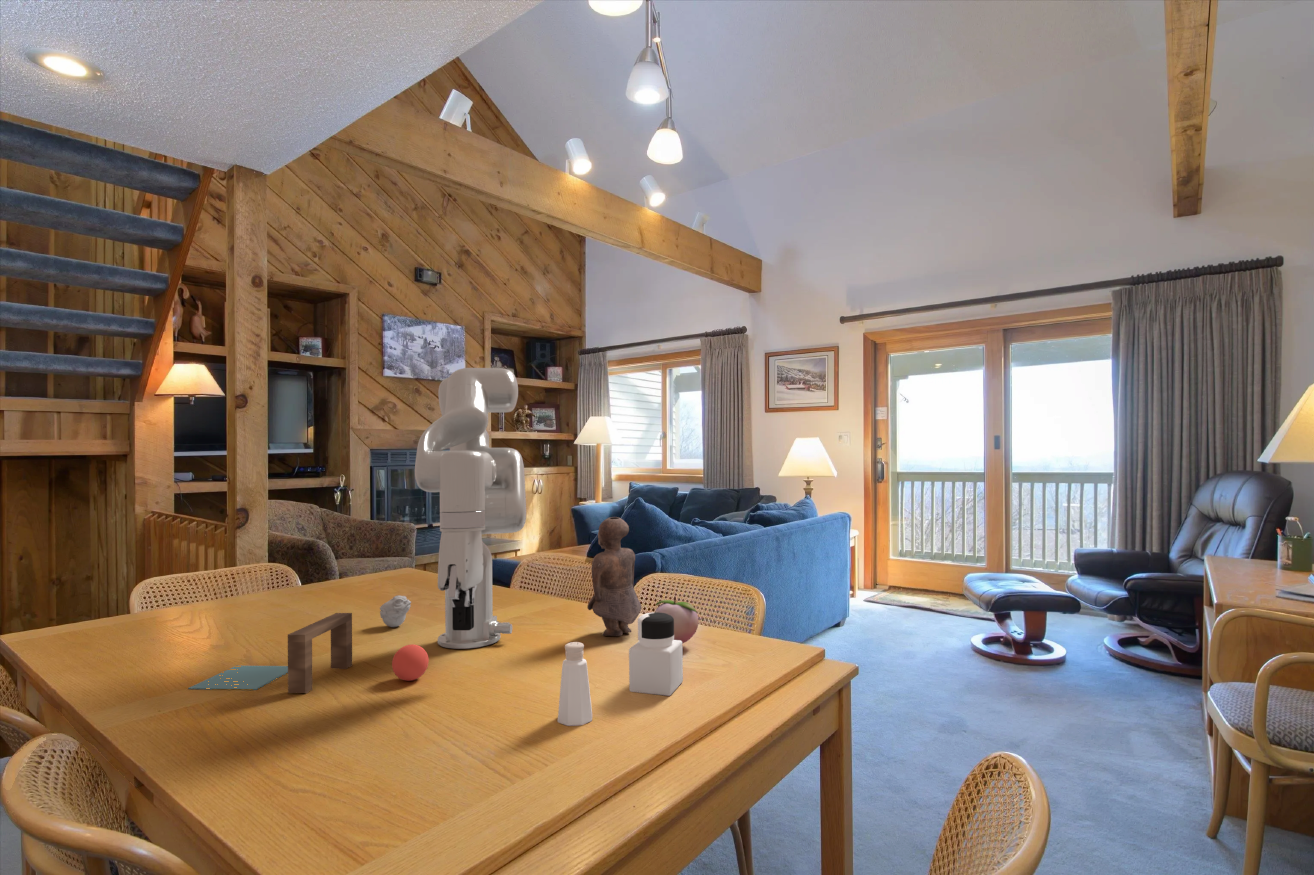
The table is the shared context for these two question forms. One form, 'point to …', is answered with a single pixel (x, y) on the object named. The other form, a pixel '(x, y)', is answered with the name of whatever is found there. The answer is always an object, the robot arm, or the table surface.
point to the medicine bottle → (655, 656)
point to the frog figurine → (395, 611)
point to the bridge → (303, 649)
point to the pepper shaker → (574, 688)
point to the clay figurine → (614, 580)
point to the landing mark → (243, 677)
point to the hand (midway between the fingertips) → (463, 629)
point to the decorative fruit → (680, 618)
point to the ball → (410, 662)
